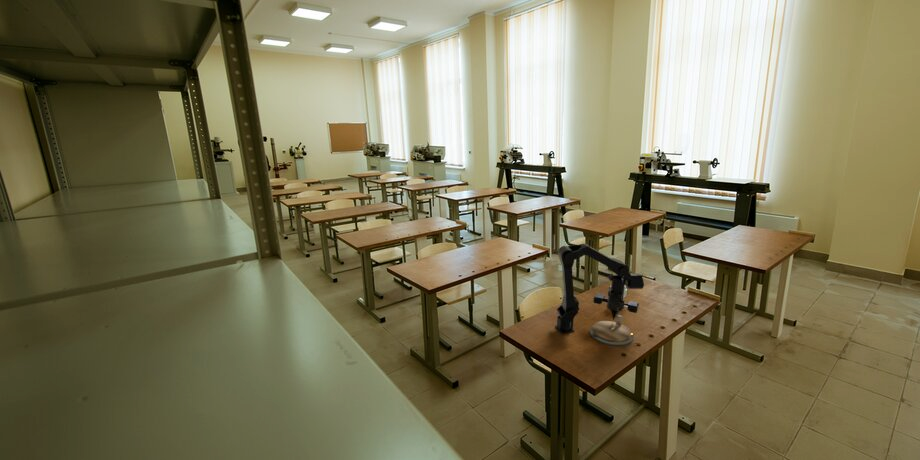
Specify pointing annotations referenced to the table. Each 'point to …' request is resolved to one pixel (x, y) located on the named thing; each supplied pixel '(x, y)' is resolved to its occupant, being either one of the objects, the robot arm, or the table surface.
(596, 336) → the dial housing
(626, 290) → the pneumatic valve
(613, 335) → the dial
